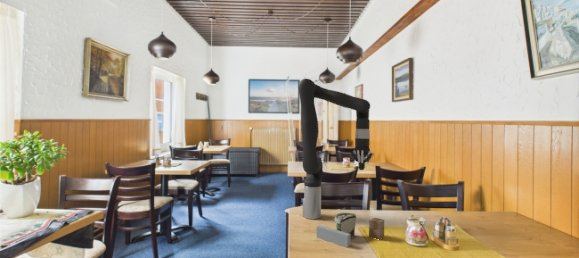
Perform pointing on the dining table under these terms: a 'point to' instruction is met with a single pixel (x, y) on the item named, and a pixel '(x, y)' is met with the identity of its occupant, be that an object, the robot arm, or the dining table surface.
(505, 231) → the dining table surface
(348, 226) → the food container
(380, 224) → the walnut block
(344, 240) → the rail
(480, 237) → the dining table surface
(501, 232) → the dining table surface
